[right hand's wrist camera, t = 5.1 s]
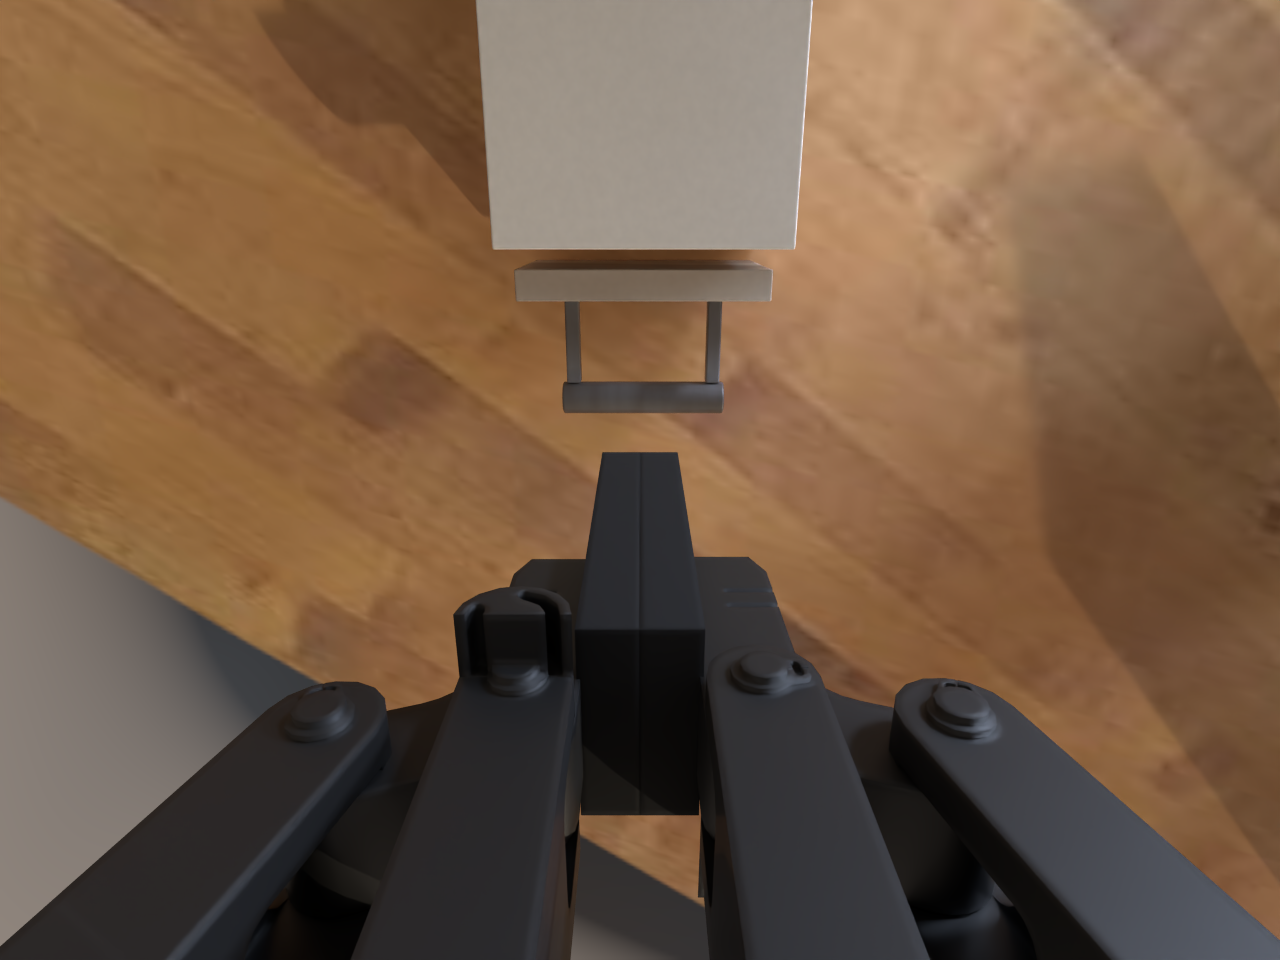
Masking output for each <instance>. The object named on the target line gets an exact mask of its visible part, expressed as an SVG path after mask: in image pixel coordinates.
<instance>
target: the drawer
mask: <svg viewBox="0 0 1280 960" xmlns="http://www.w3.org/2000/svg"><path fill="white" fill-rule="evenodd" d="M514 276H515V293H516V301H565V329H566V357H567V382H564V384H563V393H562V398H563V410H564V412H565V413H722V411H723V406H724V387H723V383H722V382H719V371H720V345H721V319H722V301H771V294H772V278H773V270H771V269H769V268H767V267H764V266H762V265H760V264H757V263H755V262H753V261H750V260H536V261H534V262H531V263H529V264H527V265H525V266H522V267H520V268H518V269H516V270H514ZM580 301H707V321H706V353H705V382H581V380H582V371H581V335H580Z"/></svg>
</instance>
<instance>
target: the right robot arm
mask: <svg viewBox="0 0 1280 960" xmlns="http://www.w3.org/2000/svg"><path fill="white" fill-rule="evenodd" d="M453 617H454V627H455V637H456V646H457V656H458V666H459V676H460V677H459V680H458V682H457V685H456V688H455V690H454V692H453V693H451V694H448V695H446V696H444V697H442V698H439V699H436V700H433V701H429V702H425V703H422V704H418V705H413V706H408V707H403V708H398V709H394V710H389V711H387V710H386V704H385V698H384V697H383V696H382V695H381V694H380V693H379V692H378V691H377V690H376V688H374V687H371V686H368V685H365V684H362V683H359V682H337V681H336V682H330V683H325V684H319V685H314V686H311V687H308V688H306V689H303V690H301V691H298V692H296V693H293V694H291V695H288V696H287V697H285V698H284V699H282V700H281V701H279V702H278V703H276V704H275V705H274V706H272V707H271V708H269V709H268V710H267V711H265V712H264V713H263V714H262V715H261V716H260V717H259V718H258V719H256V720H255V721H254V722H253V723H252V724H251V725H250V726H248V727H247V728H246V729H245V730H244V731H243V732H242V733H241V734H239V735H238V736H237V737H236V738H235V739H234V740H233V741H232V742H230V743H229V744H228V745H227V746H226V747H225V748H224V749H223V750H221V751H220V752H219V753H218V754H217V755H216V756H215V757H214V758H212V759H211V760H210V761H209V762H208V763H207V764H206V765H204V766H203V767H202V768H201V769H200V770H199V771H198V772H197V773H195V774H194V775H193V776H192V777H191V778H190V779H189V780H188V781H186V782H185V783H184V784H183V785H182V786H181V787H180V788H179V789H177V790H176V791H175V792H174V793H173V794H172V795H171V796H170V797H168V798H167V799H166V800H165V801H164V802H163V803H162V804H160V805H159V806H158V807H157V808H156V809H155V810H154V811H153V812H151V813H150V814H149V815H148V816H147V817H146V818H145V819H144V820H142V821H141V822H140V823H139V824H138V825H137V826H136V827H134V828H133V829H132V830H131V831H130V832H129V833H128V834H127V835H125V836H124V837H123V838H122V839H121V840H120V841H119V842H118V843H116V844H115V845H114V846H113V847H112V848H111V849H110V850H109V851H107V852H106V853H105V854H104V855H103V856H102V857H101V858H99V859H98V860H97V861H96V862H95V863H94V864H93V865H92V866H90V867H89V868H88V869H87V870H86V871H85V872H84V873H83V874H81V875H80V876H79V877H78V878H77V879H76V880H75V881H74V882H72V883H71V884H70V885H69V886H68V887H67V888H66V889H65V890H63V891H62V892H61V893H60V894H59V895H58V896H57V897H56V898H54V899H53V900H52V901H51V902H50V903H49V904H48V905H47V906H45V907H44V908H43V909H42V910H41V911H40V912H39V913H37V914H36V915H35V916H34V917H33V918H32V919H31V920H30V921H28V922H27V923H26V924H25V925H24V926H23V927H22V928H20V929H19V930H18V931H17V932H16V933H15V934H14V935H13V936H11V937H10V938H9V939H8V940H7V941H6V942H5V943H4V944H3V945H1V946H0V960H570V957H571V946H572V935H573V924H574V913H575V902H576V891H577V880H578V869H579V858H580V832H579V813H580V803H581V815H699V800H700V809H701V832H700V859H699V886H698V897H704V901H705V912H706V923H707V934H708V945H709V956H710V960H1280V940H1279V939H1277V938H1276V937H1275V936H1274V935H1273V934H1272V933H1271V932H1269V931H1268V930H1267V929H1266V928H1265V927H1264V926H1263V925H1262V924H1260V923H1259V922H1258V921H1257V920H1256V919H1255V918H1254V917H1252V916H1251V915H1250V914H1249V913H1248V912H1247V911H1246V910H1244V909H1243V908H1242V907H1241V906H1240V905H1239V904H1238V903H1236V902H1235V901H1234V900H1233V899H1232V898H1231V897H1230V896H1229V895H1227V894H1226V893H1225V892H1224V891H1223V890H1222V889H1221V888H1219V887H1218V886H1217V885H1216V884H1215V883H1214V882H1213V881H1211V880H1210V879H1209V878H1208V877H1207V876H1206V875H1205V874H1203V873H1202V872H1201V871H1200V870H1199V869H1198V868H1197V867H1196V866H1194V865H1193V864H1192V863H1191V862H1190V861H1189V860H1188V859H1186V858H1185V857H1184V856H1183V855H1182V854H1181V853H1180V852H1178V851H1177V850H1176V849H1175V848H1174V847H1173V846H1172V845H1171V844H1169V843H1168V842H1167V841H1166V840H1165V839H1164V838H1163V837H1161V836H1160V835H1159V834H1158V833H1157V832H1156V831H1155V830H1153V829H1152V828H1151V827H1150V826H1149V825H1148V824H1147V823H1145V822H1144V821H1143V820H1142V819H1141V818H1140V817H1139V816H1138V815H1136V814H1135V813H1134V812H1133V811H1132V810H1131V809H1130V808H1128V807H1127V806H1126V805H1125V804H1124V803H1123V802H1122V801H1120V800H1119V799H1118V798H1117V797H1116V796H1115V795H1114V794H1112V793H1111V792H1110V791H1109V790H1108V789H1107V788H1106V787H1105V786H1103V785H1102V784H1101V783H1100V782H1099V781H1098V780H1097V779H1095V778H1094V777H1093V776H1092V775H1091V774H1090V773H1089V772H1087V771H1086V770H1085V769H1084V768H1083V767H1082V766H1081V765H1079V764H1078V763H1077V762H1076V761H1075V760H1074V759H1073V758H1072V757H1070V756H1069V755H1068V754H1067V753H1066V752H1065V751H1064V750H1062V749H1061V748H1060V747H1059V746H1058V745H1057V744H1056V743H1054V742H1053V741H1052V740H1051V739H1050V738H1049V737H1048V736H1046V735H1045V734H1044V733H1043V732H1042V731H1041V730H1040V729H1039V728H1037V727H1036V726H1035V725H1034V724H1033V723H1032V722H1031V721H1029V720H1028V719H1027V718H1026V717H1025V716H1024V715H1023V714H1021V713H1020V712H1019V711H1018V710H1017V709H1016V708H1015V707H1013V706H1012V705H1011V704H1009V703H1008V702H1006V701H1005V700H1003V699H1002V698H1000V697H999V696H997V695H996V694H994V693H993V692H990V691H988V690H985V689H983V688H981V687H978V686H976V685H973V684H971V683H967V682H963V681H959V680H958V681H957V680H953V679H946V678H934V679H921V680H918V681H915V682H912V683H909V684H906V685H905V686H904V687H903V688H902V689H901V690H900V691H899V692H898V693H897V694H896V697H895V704H894V708H892V707H887V706H882V705H877V704H873V703H868V702H863V701H858V700H855V699H851V698H848V697H844V696H841V695H839V694H836V693H834V692H832V691H830V690H827V689H825V687H824V684H823V681H822V679H821V676H820V675H819V673H818V672H817V671H816V669H815V668H814V666H813V665H812V664H811V663H810V662H808V661H807V660H805V659H804V658H802V657H801V656H799V655H798V654H796V653H795V652H794V649H793V646H792V643H791V641H790V638H789V635H788V632H787V629H786V626H785V624H784V621H783V618H782V615H781V612H780V609H779V607H777V601H776V598H775V595H774V592H772V587H771V584H770V581H769V578H768V575H767V573H766V571H765V570H763V569H762V568H761V567H760V566H759V565H757V564H756V563H755V562H754V561H752V560H751V559H750V558H749V557H694V554H693V548H692V541H691V535H690V529H689V522H688V516H687V510H686V503H685V497H684V491H683V484H682V478H681V472H680V465H679V459H678V453H677V452H603V453H602V459H601V465H600V472H599V478H598V484H597V491H596V497H595V503H594V510H593V516H592V522H591V529H590V535H589V541H588V548H587V554H586V559H532V560H530V561H529V562H528V563H527V564H526V565H524V566H523V567H522V568H521V569H520V570H518V571H517V572H516V573H515V574H514V576H513V578H512V581H511V584H510V587H506V588H498V589H495V590H491V591H488V592H485V593H481V594H478V595H477V596H475V597H473V598H471V599H470V600H468V601H466V602H464V603H463V604H462V605H461V606H460V607H459V608H458V610H457V611H456V612H455V613H454V614H453Z"/></svg>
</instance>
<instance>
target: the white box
mask: <svg viewBox="0 0 1280 960" xmlns="http://www.w3.org/2000/svg"><path fill="white" fill-rule="evenodd" d="M812 3H813V0H476V13H477V28H478V43H479V58H480V73H481V88H482V102H483V117H484V132H485V147H486V162H487V177H488V192H489V207H490V221H491V236H492V248H493V249H621V250H793V249H795V243H796V228H797V214H798V200H799V186H800V172H801V158H802V144H803V130H804V116H805V102H806V88H807V74H808V60H809V46H810V31H811V17H812Z"/></svg>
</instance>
